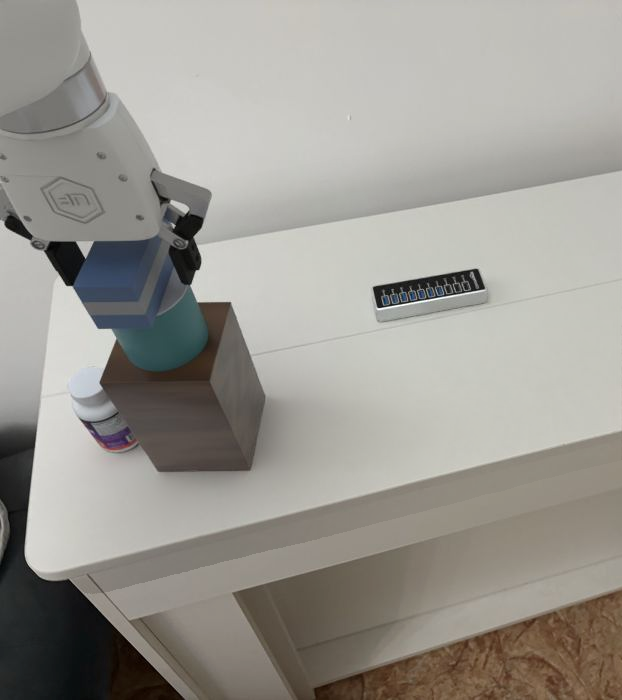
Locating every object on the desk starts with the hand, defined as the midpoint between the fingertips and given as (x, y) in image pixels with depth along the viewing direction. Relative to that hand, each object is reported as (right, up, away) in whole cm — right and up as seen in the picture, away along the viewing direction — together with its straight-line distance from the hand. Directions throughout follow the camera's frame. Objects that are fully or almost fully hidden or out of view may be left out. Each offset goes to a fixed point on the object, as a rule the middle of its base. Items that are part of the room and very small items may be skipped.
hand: (134, 274), depth 61 cm
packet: (0, -1, +1) cm, 2 cm away
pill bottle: (-10, -16, +19) cm, 27 cm away
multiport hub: (+24, 0, +32) cm, 40 cm away
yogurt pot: (0, -6, +7) cm, 9 cm away
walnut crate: (0, -16, +19) cm, 25 cm away
